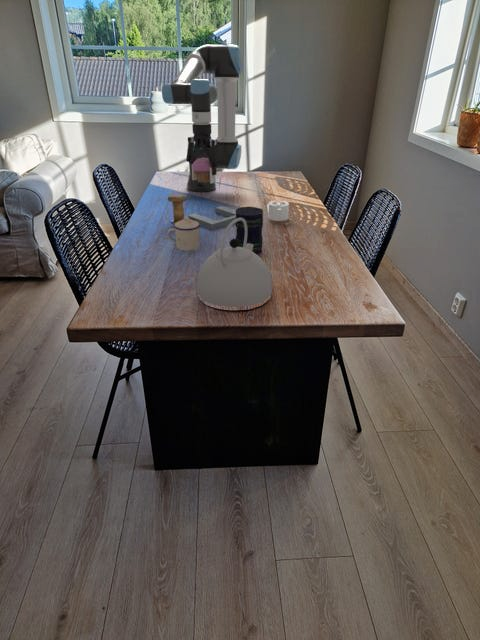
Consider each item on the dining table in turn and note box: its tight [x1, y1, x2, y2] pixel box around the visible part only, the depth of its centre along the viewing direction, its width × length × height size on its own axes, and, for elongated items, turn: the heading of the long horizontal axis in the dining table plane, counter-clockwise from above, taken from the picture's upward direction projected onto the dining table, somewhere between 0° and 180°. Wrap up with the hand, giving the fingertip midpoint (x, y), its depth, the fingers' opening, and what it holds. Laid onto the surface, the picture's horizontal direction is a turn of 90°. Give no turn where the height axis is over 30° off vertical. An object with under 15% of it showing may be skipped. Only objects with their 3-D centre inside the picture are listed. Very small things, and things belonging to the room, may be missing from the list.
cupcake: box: [193, 157, 211, 183], centre depth 185 cm, size 9×9×10 cm
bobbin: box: [167, 193, 188, 224], centre depth 187 cm, size 8×8×11 cm
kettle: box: [196, 218, 273, 307], centre depth 130 cm, size 25×23×23 cm
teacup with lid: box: [166, 215, 201, 251], centre depth 163 cm, size 12×9×12 cm
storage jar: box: [234, 206, 264, 256], centre depth 159 cm, size 10×10×15 cm
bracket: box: [266, 200, 290, 222], centre depth 199 cm, size 20×9×7 cm, turn 0°
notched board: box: [187, 205, 236, 231], centre depth 192 cm, size 16×20×2 cm
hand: (203, 181), depth 188 cm, fingers closed on cupcake, 9 cm apart
